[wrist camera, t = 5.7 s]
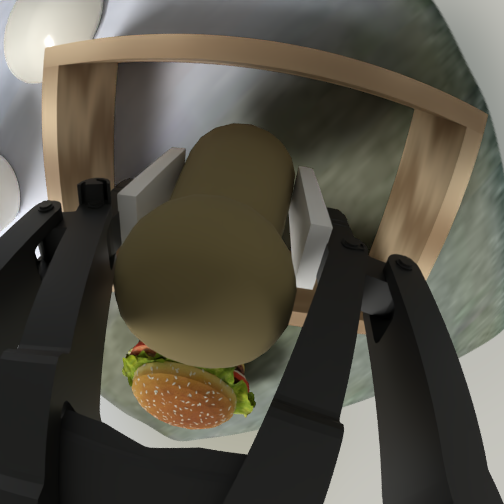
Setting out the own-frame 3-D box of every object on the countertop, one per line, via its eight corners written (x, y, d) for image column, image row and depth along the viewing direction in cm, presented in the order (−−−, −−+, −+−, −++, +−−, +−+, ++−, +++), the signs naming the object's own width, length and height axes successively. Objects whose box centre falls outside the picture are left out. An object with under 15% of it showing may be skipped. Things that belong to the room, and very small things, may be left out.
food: (164, 391, 38) (149, 440, 31) (118, 318, 31) (89, 374, 24) (264, 393, 36) (260, 449, 29) (242, 313, 28) (231, 384, 22)
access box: (105, 48, 16) (44, 48, 11) (431, 99, 17) (488, 114, 11) (105, 231, 25) (63, 279, 19) (372, 277, 25) (393, 336, 19)
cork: (235, 244, 19) (200, 410, 10) (164, 172, 17) (51, 305, 7) (317, 185, 16) (362, 345, 7) (243, 99, 14) (180, 154, 5)
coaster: (18, -17, 12) (14, -17, 11) (115, -49, 12) (112, -51, 11) (4, 89, 18) (0, 90, 17) (94, 76, 18) (90, 77, 17)
